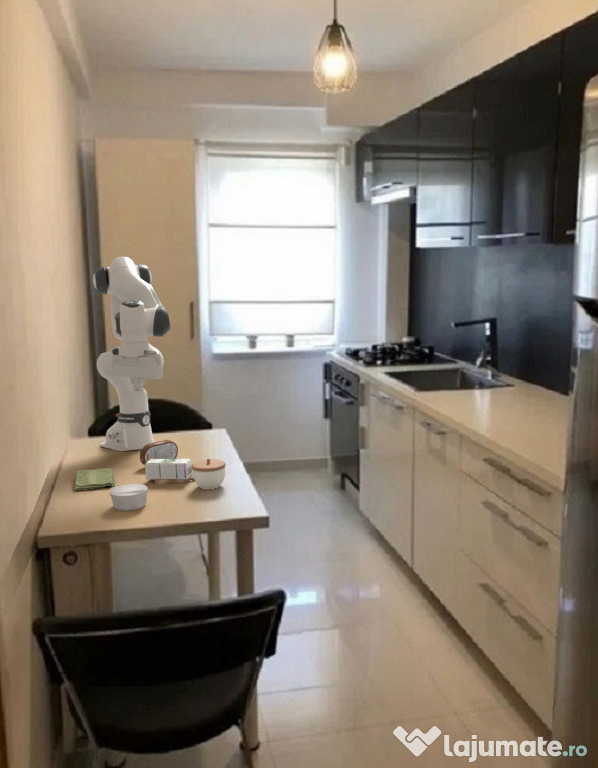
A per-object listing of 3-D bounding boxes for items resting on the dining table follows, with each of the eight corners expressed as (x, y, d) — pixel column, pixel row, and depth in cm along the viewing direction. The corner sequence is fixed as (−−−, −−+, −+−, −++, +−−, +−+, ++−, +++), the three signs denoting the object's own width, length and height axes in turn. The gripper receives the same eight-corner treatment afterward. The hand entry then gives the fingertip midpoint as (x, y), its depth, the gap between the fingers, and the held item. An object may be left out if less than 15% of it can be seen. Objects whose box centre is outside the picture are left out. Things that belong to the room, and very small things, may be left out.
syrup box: (145, 479, 238) (188, 480, 236) (144, 462, 237) (187, 463, 235) (151, 474, 243) (192, 475, 242) (150, 457, 242) (192, 458, 241)
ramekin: (125, 515, 208) (124, 497, 207) (103, 507, 215) (101, 490, 214) (156, 504, 216) (155, 487, 215) (134, 497, 223) (132, 481, 223)
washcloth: (74, 493, 231) (73, 484, 230) (75, 478, 248) (74, 469, 247) (115, 488, 234) (115, 479, 234) (114, 474, 251) (113, 465, 251)
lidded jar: (217, 493, 225) (215, 464, 223) (187, 490, 228) (185, 462, 227) (232, 483, 234) (230, 455, 233) (202, 480, 238) (201, 453, 237)
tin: (175, 459, 266) (173, 437, 265) (180, 460, 264) (178, 438, 262) (140, 468, 256) (138, 445, 254) (144, 470, 254) (143, 446, 252)
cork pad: (155, 484, 235) (154, 482, 235) (152, 473, 249) (152, 470, 249) (197, 480, 239) (197, 477, 239) (192, 469, 252) (192, 466, 252)
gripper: (165, 350, 236) (168, 391, 238) (120, 347, 246) (123, 386, 249) (152, 352, 230) (155, 394, 233) (106, 349, 241) (109, 390, 243)
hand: (138, 390), depth 241 cm, fingers closed
